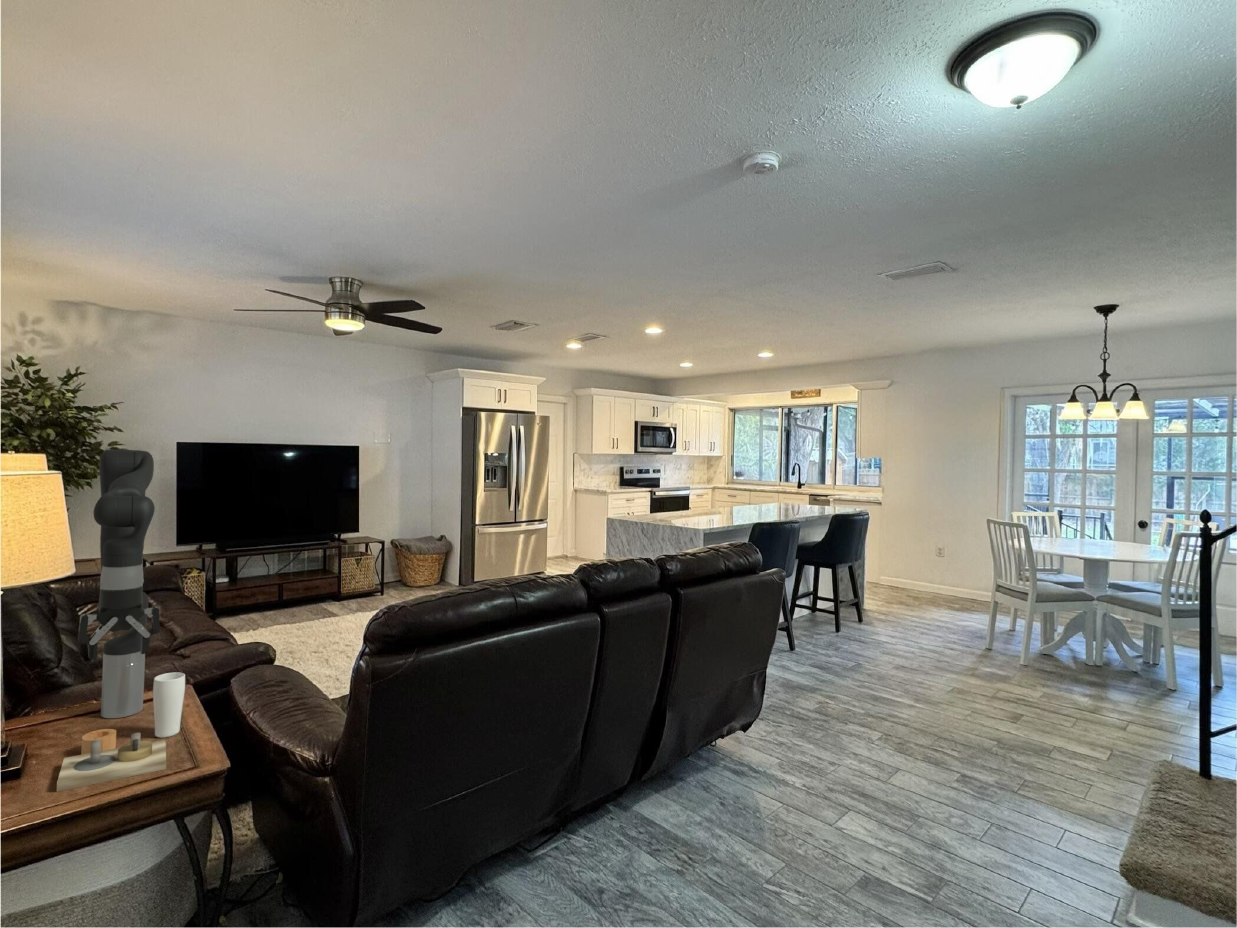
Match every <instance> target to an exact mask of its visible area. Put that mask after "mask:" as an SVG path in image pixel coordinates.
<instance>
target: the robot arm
mask: <svg viewBox="0 0 1237 928" xmlns="http://www.w3.org/2000/svg"><path fill="white" fill-rule="evenodd" d="M154 462H155V461H154V457H153V455H152V454H151V453H150V452H149V451H147V450H141V449H139V450H138V449H135V450H134V449H105V450H103V452H102V453H101V455H100V458H99V482H100V484H99V485H100V497H99V499H98V500H97V502H96V503H95V505H94V508H93V519H94V521H95V523H97V524H98V525H99V526H100V540H99V541H100V542H99V543H100V545H99V548H100V549H99V550H100V551H99V552H100V581H99V583H100V584H99V595H98V597H99V598H98V605H97V606H98V607H97V609H98V610H97V613H92V614H89V613H88V614H87V613H81V614H80V617H79V623H78V624H79V625H78V631H77V632H78V633H77V642H78V643H79V644H81V645H82V644H86V645H88V651H87V652H88V653H87V655H88V659H89V660H92V662H97V661H98V648H99V647H98V646H99V645H98V642H99V641H100V640H101V638H102V637H103V636H105V635H106V633H107V632H111V633H114V632H115V633H116V632H119V631H127V632H124V633H123V634H121V635H119V636H115V637H113V638H111V639H108V640H107V641H106V642H105V643H104V644H103V655H102V657H103V658H102V679H101V680H102V682H101V699H100V700H101V701H100V702H101V704H100V707H101V708H100V716H101V718H105V719H119V718H125V717H129V716H132V715H135V714H138V713H140V712H142V710H143V709H144V693H145V691H144V689H145V664H146V652H149V650H150V641H151V640H150V639H151V636H153V635H157V634H159V633H160V632H161V628H160V627H161V625H160V624H161V623H160V609H159V607H158V606H156V605H153V606H152V607H149V597H148V595H147V592H144V585H143V584H144V582H145V580H144V569H143V559H144V556H143V555H144V546H145V540H146V535H147V532H148V530H149V527H150V525H151V522H152V520H153V517H154V515H155V503H154V501H153V500H152V499H151V498H150V497H149V496H147V495H146V492H147V491H146V490H148V488H149V486H150V484H151V483H152V480H153V478H154V477H153V476H154V469H155V467H154V464H155V463H154ZM148 618H149V619H150V618H151V619H150V620H151V621H150V622H151V627H150V628H148V629H147V623H148V622H147V621H148ZM95 620H96V621H97V622H98V624H99V626H98V627H97V628H96V630H95V631H94V632H93V633H92V634H91V636H87V633H88V626H90V625H92V624H93V622H94V621H95Z"/></svg>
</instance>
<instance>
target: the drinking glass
mask: <svg viewBox="0 0 1237 928" xmlns="http://www.w3.org/2000/svg"><path fill="white" fill-rule="evenodd" d="M185 692H186V674H185V673H183V672H179V671H178V672H175V671H174V672H168V673H166V672H165V673H162V674H159V675H157V676H155V677H154V678H153V687H152V701H153V703H152V704H153V714H154V715H153V716H154V736H155V737H157V738H163V739H164V738H169V737H173V736H176V735H178V734H179V732H180V730H181V720H182V713H183V706H184V699H185Z"/></svg>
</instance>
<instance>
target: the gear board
mask: <svg viewBox="0 0 1237 928" xmlns="http://www.w3.org/2000/svg"><path fill="white" fill-rule="evenodd" d="M141 734H142V733H141V732H134V733H132V734H130V742H129V743H126V744H124V745H122V746H120V747H117V748H115V749H110V750H104V751H101V740H94V741H91V752H90V753H88V754H83V755H81V754H77V755H72V756H68V757H67V756H66V757H64V758H63V760H62V764H61V768H60V772H59V774H58V779H57V781H56V792H63V791H68V790H72V789H76V788H82V787H86V786H87V787H88V786H92V785H95V784H96V785H97V784H102V783H106V782H111V781H115V780H121V779H125V778H129V777H135V776H140V775H144V774H149V773H154V772H159V771H165V770H167V740H166V739H164V738H163V739H160V740H155V741H149V740H141V737H142V736H141Z"/></svg>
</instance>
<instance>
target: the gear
mask: <svg viewBox="0 0 1237 928" xmlns="http://www.w3.org/2000/svg"><path fill="white" fill-rule="evenodd" d="M94 740H101V751H104V750H110V749H115V748H116V745H117V729H113V728H102V729H97V730H93V731H90V732H87V733H85V734H84V735H82V737H81V752H80V755H83V754H88V753H90V752H91V741H94Z"/></svg>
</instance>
